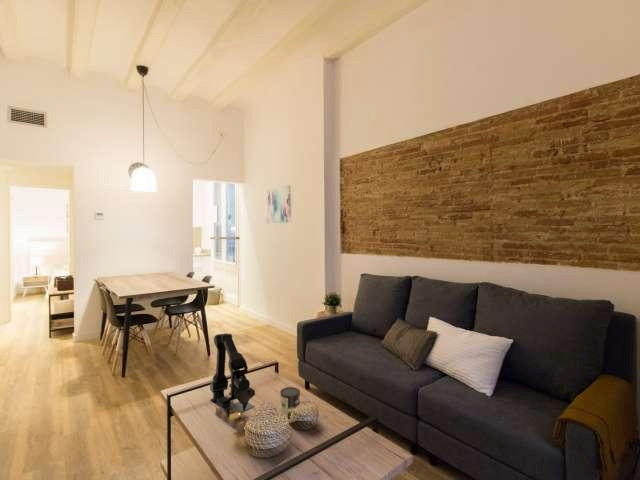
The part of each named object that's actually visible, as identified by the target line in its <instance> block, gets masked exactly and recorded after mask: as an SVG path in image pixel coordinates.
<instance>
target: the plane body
mask: <svg viewBox="0 0 640 480" xmlns="http://www.w3.org/2000/svg"><path fill="white" fill-rule="evenodd" d="M236 412H238V413H240V414H241V415H243V416H244V417H243V418H239V419H236V420H231V419H229V418H228V417H227V415H226V413H225V412H224V411H222V410H221V409H219V406H218V405H217V406H215V414H214V415H215V416H216V417H217V418H219V419H221V420H222V421H223V422H225V423H226V424H228V425H229V426H230V427H232V428H233V429H235V430H236V431H237V432H239V433H242V432H244V431H245V430H244V427H245V425H246V423H247V421H248V420H249V418H250V417H249V416H247V415H245V414H244V413H243V412H242V413H241V412H239V411H238V410H236V409H232V410H230V411H229V415H230V414H234V413H236Z"/></svg>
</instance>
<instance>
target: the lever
mask: <svg viewBox="0 0 640 480" xmlns="http://www.w3.org/2000/svg"><path fill="white" fill-rule="evenodd" d="M243 417H244V416H243V415H241V414H240V413H238V412H236V413H234V414H230V415H229V419H231V420H236V419H239V418H243Z"/></svg>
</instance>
